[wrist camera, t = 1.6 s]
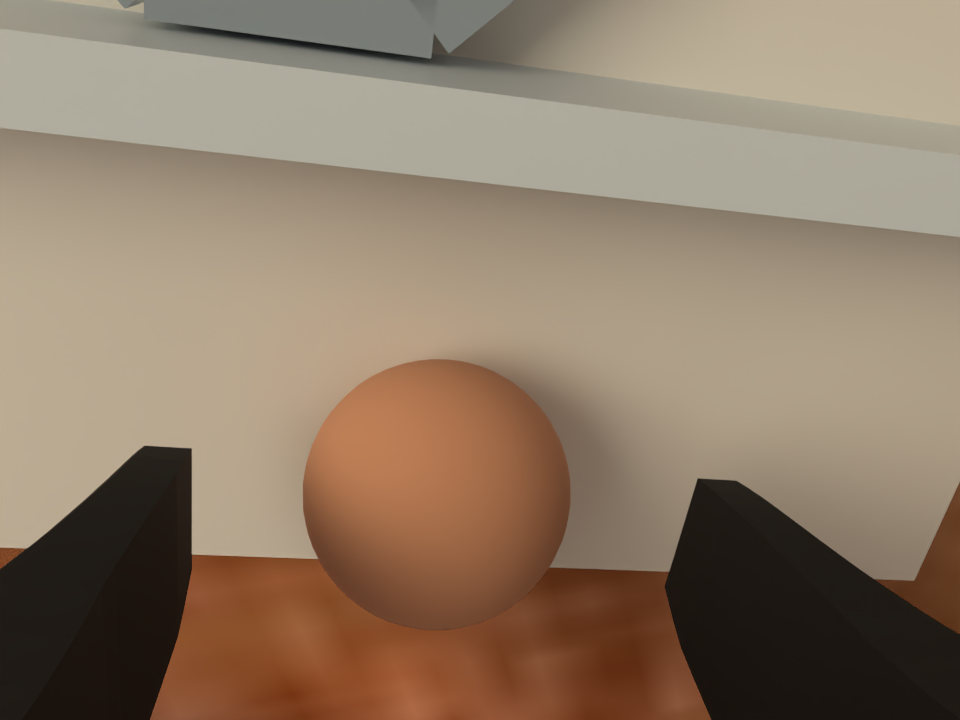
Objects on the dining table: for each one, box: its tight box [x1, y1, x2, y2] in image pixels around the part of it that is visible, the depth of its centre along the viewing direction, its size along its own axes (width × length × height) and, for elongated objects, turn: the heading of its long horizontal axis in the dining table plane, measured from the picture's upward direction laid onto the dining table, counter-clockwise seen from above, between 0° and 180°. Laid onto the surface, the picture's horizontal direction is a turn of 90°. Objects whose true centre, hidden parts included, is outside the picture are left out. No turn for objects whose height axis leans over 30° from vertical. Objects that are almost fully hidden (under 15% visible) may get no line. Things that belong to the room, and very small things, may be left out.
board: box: [0, 0, 960, 581], centre depth 13 cm, size 18×23×1 cm
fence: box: [0, 0, 960, 237], centre depth 11 cm, size 1×23×3 cm, turn 81°
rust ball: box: [303, 359, 570, 630], centre depth 13 cm, size 4×4×4 cm
